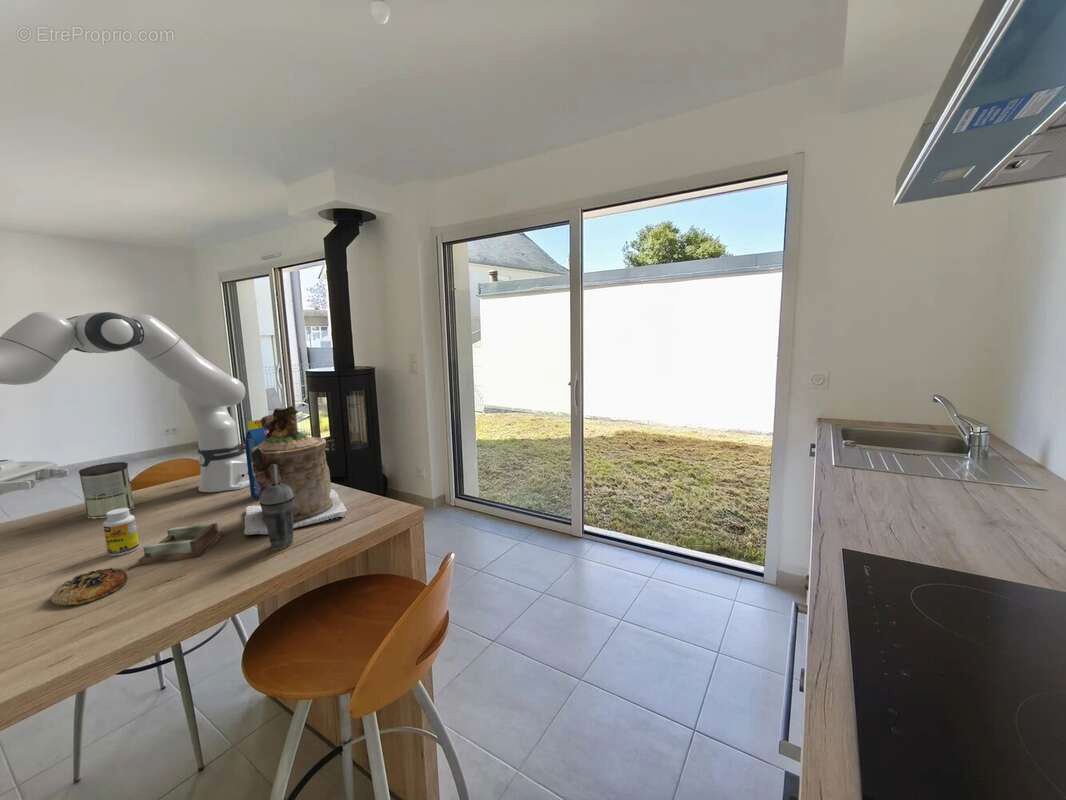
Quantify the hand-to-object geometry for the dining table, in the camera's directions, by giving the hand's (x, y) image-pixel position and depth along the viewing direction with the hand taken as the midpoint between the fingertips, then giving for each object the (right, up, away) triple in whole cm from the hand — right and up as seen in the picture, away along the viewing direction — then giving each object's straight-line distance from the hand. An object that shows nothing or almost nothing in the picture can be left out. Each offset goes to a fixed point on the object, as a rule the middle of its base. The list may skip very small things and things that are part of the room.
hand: (50, 478), depth 98 cm
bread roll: (+21, -21, -11) cm, 32 cm away
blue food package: (+25, -13, +44) cm, 53 cm away
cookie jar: (+42, -15, +26) cm, 52 cm away
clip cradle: (+26, -18, +6) cm, 32 cm away
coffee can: (-16, -16, +31) cm, 38 cm away
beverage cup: (+49, -18, +7) cm, 53 cm away
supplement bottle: (+12, -19, +6) cm, 23 cm away
